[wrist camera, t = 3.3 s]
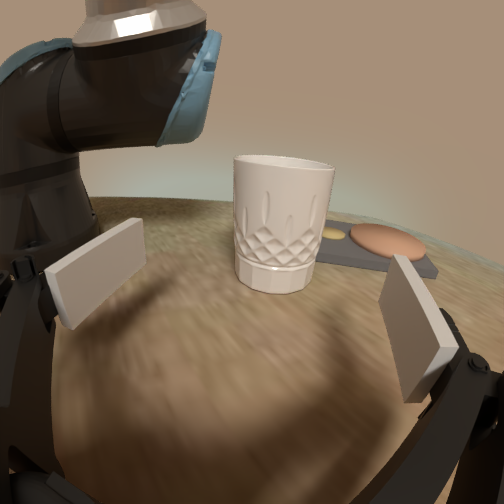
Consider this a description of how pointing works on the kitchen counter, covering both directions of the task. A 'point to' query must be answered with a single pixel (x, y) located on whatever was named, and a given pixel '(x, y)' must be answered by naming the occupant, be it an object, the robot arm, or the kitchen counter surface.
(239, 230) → the white cup
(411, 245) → the board
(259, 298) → the kitchen counter surface
